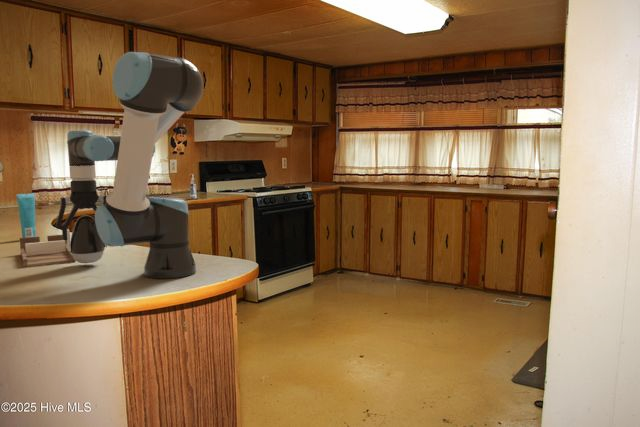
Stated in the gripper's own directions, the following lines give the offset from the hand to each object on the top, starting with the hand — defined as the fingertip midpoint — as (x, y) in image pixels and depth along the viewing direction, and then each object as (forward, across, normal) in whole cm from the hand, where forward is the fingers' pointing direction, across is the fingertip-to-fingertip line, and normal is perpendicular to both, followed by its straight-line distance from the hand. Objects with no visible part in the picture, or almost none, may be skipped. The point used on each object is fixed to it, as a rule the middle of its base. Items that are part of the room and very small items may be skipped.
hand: (87, 248), depth 169 cm
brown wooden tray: (+5, +10, -20) cm, 24 cm away
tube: (+5, +14, -66) cm, 67 cm away
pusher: (+4, +10, -27) cm, 30 cm away
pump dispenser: (+5, 0, 0) cm, 5 cm away
